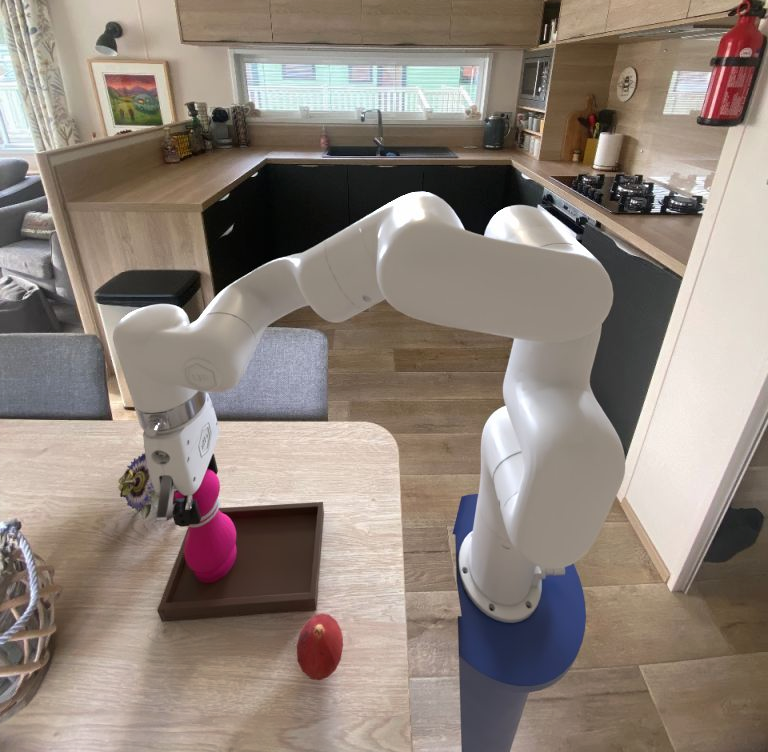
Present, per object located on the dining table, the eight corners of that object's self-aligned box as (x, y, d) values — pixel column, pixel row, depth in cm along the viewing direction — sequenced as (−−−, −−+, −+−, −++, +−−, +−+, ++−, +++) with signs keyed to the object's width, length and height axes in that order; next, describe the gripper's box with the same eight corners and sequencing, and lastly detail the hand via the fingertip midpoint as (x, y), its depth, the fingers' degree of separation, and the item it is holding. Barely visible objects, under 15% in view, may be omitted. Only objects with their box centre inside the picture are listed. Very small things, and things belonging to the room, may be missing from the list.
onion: (292, 687, 49) (286, 654, 46) (307, 627, 54) (302, 595, 51) (337, 696, 48) (335, 664, 45) (348, 635, 53) (346, 602, 50)
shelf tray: (323, 512, 68) (323, 501, 67) (316, 610, 56) (315, 598, 55) (198, 520, 67) (194, 509, 66) (161, 622, 54) (156, 610, 53)
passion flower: (147, 529, 71) (97, 488, 68) (193, 471, 79) (150, 432, 76) (170, 536, 64) (116, 491, 61) (218, 472, 72) (172, 429, 69)
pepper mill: (230, 587, 57) (206, 498, 50) (181, 588, 57) (149, 498, 50) (246, 534, 64) (227, 448, 56) (202, 534, 64) (177, 448, 56)
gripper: (172, 462, 40) (203, 566, 47) (225, 353, 56) (242, 442, 63) (97, 466, 40) (139, 570, 47) (171, 355, 56) (194, 445, 63)
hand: (198, 496), depth 55 cm, fingers closed on pepper mill, 6 cm apart
